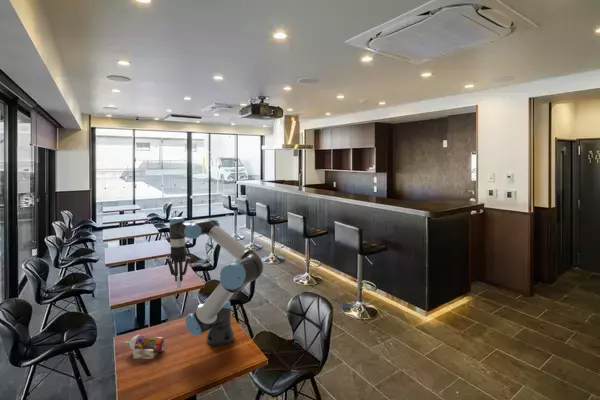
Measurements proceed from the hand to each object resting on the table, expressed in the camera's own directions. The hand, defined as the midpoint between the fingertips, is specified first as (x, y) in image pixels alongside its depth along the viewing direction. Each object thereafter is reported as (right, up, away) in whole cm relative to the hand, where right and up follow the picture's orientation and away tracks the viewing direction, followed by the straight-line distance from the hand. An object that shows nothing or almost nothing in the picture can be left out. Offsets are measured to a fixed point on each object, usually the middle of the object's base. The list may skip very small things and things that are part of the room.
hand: (179, 286), depth 186 cm
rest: (-13, -32, -8) cm, 36 cm away
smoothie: (-5, -29, -8) cm, 31 cm away
